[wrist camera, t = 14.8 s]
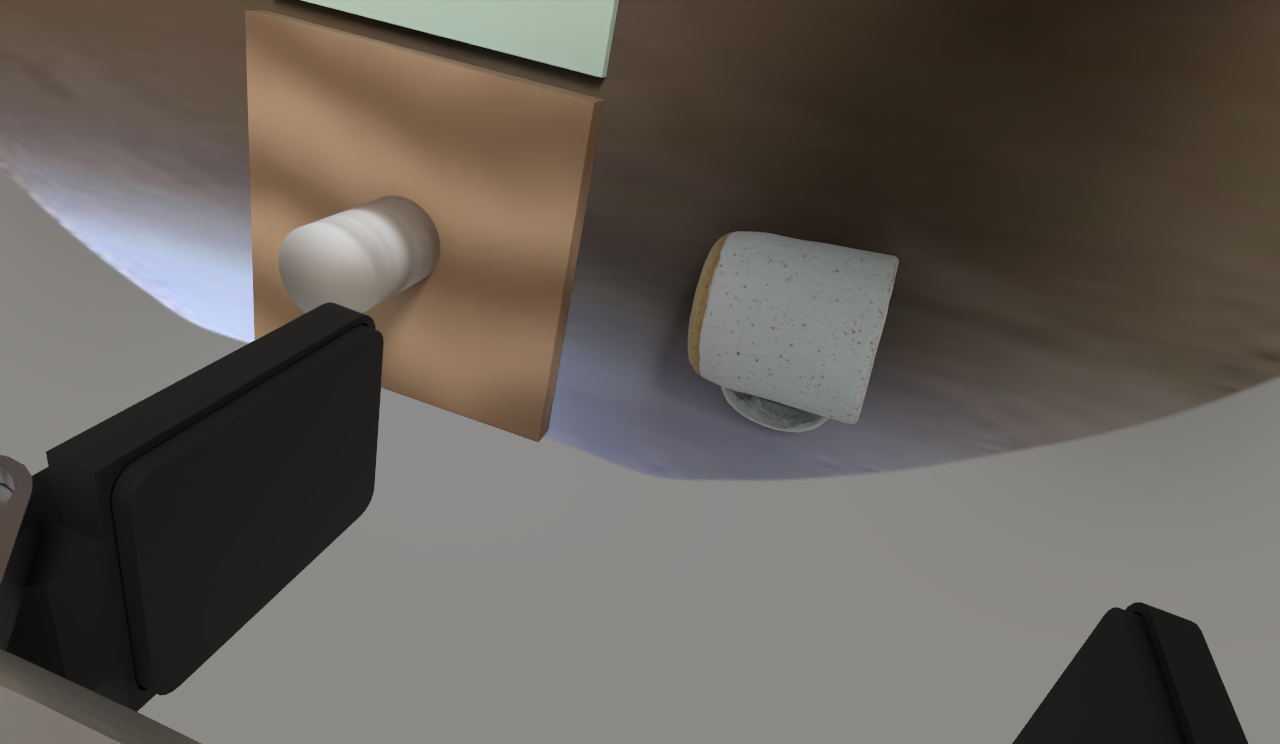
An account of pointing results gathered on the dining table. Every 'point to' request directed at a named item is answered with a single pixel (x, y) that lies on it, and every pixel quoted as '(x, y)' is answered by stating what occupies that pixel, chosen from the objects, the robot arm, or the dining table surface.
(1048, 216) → the dining table surface
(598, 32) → the green mat
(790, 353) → the ceramic mug
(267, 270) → the walnut lid
